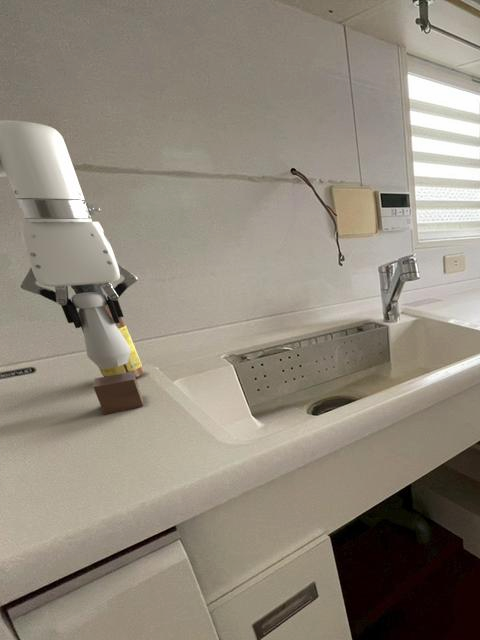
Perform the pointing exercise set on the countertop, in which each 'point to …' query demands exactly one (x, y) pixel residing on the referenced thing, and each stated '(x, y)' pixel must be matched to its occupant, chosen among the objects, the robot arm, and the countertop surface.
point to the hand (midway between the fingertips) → (98, 323)
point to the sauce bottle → (134, 360)
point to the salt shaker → (101, 331)
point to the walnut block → (118, 392)
